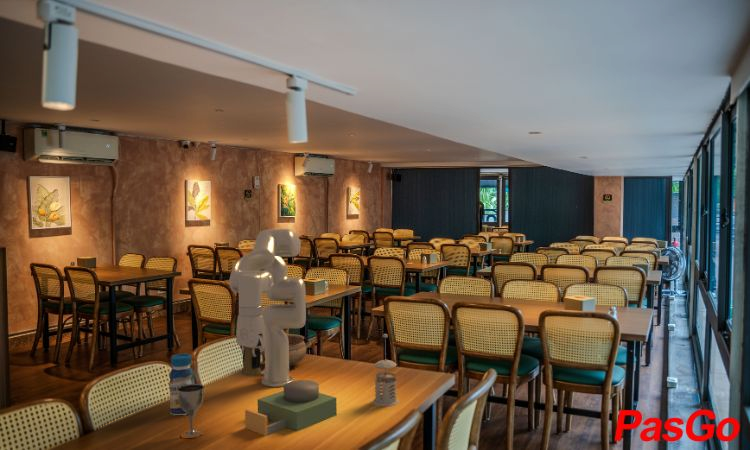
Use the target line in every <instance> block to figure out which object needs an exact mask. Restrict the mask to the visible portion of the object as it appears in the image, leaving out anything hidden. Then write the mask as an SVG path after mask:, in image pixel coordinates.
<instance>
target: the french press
mask: <svg viewBox="0 0 750 450" xmlns="http://www.w3.org/2000/svg"><path fill="white" fill-rule="evenodd" d="M388 337H389V336H388V334H387V333H384V334H382V338H384V356H385V357H384V358H385V359H382V360H378V361H377V362H375V363H374V367H375V368H377V369H380V370H381V369H383V370H384V371H385V372H384V371H382V372H380V370H379V371H377V373H376V374H375V377H376V378H375V379H374V381H375V382H374V386H375V387H374V389H375V390H374V393H375V394H374V396H375V398H374V399H372V400H373V401H372V404H373V405H375V406H379V407H393V406H396V405H398V404H399V403H400V401H399V399H398V398H397V378H396V374H395V373H391V372H387V369H393V368H395V367H396V366H397V364H398V363H396V361H395V362H394V361H393V360H389V359H387V357H386V355H387V352H386V351H387V350H386V349H387V348H386V347H387V345H386V339H387V338H388Z"/></svg>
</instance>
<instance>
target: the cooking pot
mask: <svg viewBox="0 0 750 450" xmlns="http://www.w3.org/2000/svg"><path fill="white" fill-rule="evenodd" d="M286 335H287V336H288V340H289V368H291V367H293V366H295V365H297V364H298V363H299V362H301V361H302V360H303V359H304V358H305V357H306V353H307V349H308V348H310V347H311V346H312V343H311V342H306V343H305V341H304V340H305V336H303V335H300V334H293V333H286ZM262 354H263V357H264V358H265V350H264V351H263V352H262Z"/></svg>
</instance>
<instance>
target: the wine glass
mask: <svg viewBox="0 0 750 450" xmlns="http://www.w3.org/2000/svg"><path fill="white" fill-rule="evenodd" d="M204 394H205V386H204V384H200V383H194V384H188V385H183V386H181V387H179V388H178V400H179V404H180V407H181V408H182V409H183V410H184V411H185V412H186V413H187V414H188V419H189V425H190V427H189V429H190V430H187V431H188V432H186V431H185V432H186V433H185V434H186V435H188V436H191V435H197V434H200V431H197V430H198V429H194V418H195V414H196V413H197V412H198V411H199V409H200V408H201V406H202V405H203V401H204V396H205V395H204Z"/></svg>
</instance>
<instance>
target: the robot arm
mask: <svg viewBox="0 0 750 450" xmlns="http://www.w3.org/2000/svg"><path fill="white" fill-rule="evenodd" d="M301 246H302V244H301V239H300V237H299V236H298V235H297V234H296V232H295V231H293V230H291V229H287V228H280V229H279V228H278V229H277V228H273V229H272V228H271V229H270V228H269V229H268V228H267V229H263V230H261V231H260V232H259V233H258V234H257V236H256V239H255V242H254V246H253V249H252V251H250V252H249V253H247V254H245V255H244V256H242V257H240V258H239V259H237V261H236V262H235V263H234V265H233V267H232V270H231V272H230V277H229V287H230V289H231V291H233V292H234V293H238V315H237V319H236V330H235V332H236V334H235V336H236V340H235V341H236V344H237V345H239V348H240V350H241V354H242V365H243V364H244V355H245V350H244V348H243V346H245V347H248V348H252V353H253V357H252V369H256V368H259V367H260V368H261V367H262V363H261V362H262V361H261V359H262V358H261V356H262V354H263V353H262V352H263V351H264V350H265V357H264V368H263V370H261V373H260V375H264V377H263V378H262V379H261V384H262V385H263V386H265V387H270V388H271V387H272V388H276V387H284V385H285V384H286V383H289V382H292V381H294V378H293V376H291V375H290V367H289V340H288V336H287V335H286V334H287V333H286V332H285V331H284V330H285V329H301V328H303V327H304V326H305V325H306V321H307V316H306V315H307V308H306V307H307V302H306V301H307V300H306V298H307V293H306V284H305V281H304V279H302V278H301V277H288V266H287V263H286V262H285V260H284V258H282V257H296V256H298V255H300V252H301V248H302V247H301ZM263 293H265V296H266V298H267V300H268V301H271V302H293V304H270V305H269V304H268V305H266V306H265V307H263ZM257 344H258V346H257ZM256 348H258V349H257V351H256V350H255V349H256Z"/></svg>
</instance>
